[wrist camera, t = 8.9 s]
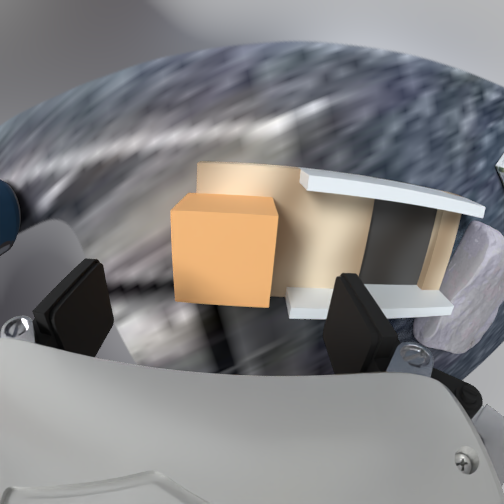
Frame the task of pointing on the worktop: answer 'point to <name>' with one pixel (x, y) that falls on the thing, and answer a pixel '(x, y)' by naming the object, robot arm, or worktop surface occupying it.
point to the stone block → (468, 292)
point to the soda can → (8, 217)
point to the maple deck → (340, 230)
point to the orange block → (224, 249)
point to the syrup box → (501, 168)
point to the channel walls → (386, 296)
